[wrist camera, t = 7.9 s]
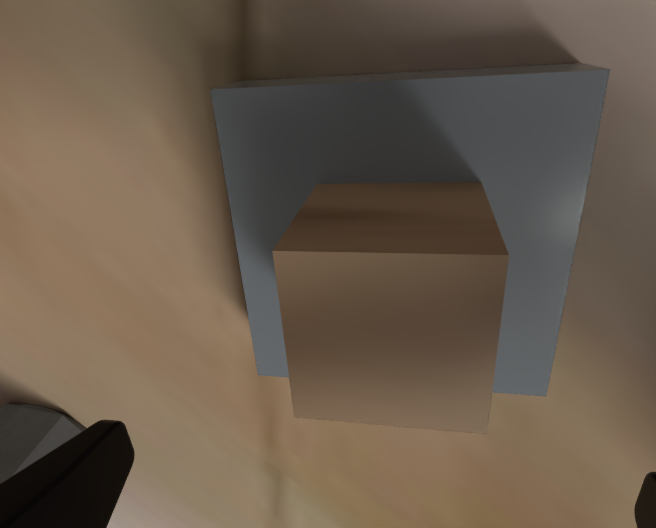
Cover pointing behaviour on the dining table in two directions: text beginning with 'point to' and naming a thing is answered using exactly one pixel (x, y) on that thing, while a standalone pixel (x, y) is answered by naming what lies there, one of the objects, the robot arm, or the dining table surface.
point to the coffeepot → (31, 435)
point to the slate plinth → (421, 177)
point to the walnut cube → (393, 304)
